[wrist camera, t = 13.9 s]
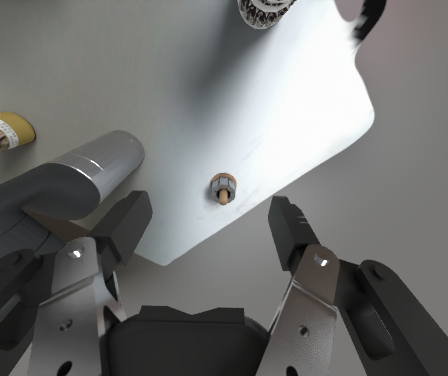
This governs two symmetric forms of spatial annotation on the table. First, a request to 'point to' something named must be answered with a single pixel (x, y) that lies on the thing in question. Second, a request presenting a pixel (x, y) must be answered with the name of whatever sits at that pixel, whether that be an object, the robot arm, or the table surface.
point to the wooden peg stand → (223, 192)
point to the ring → (223, 184)
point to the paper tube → (14, 131)
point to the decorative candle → (263, 11)
